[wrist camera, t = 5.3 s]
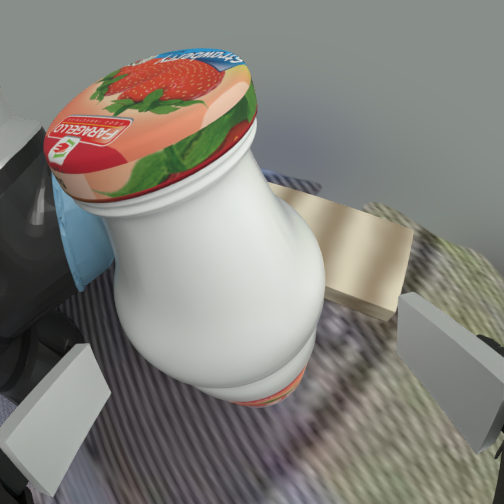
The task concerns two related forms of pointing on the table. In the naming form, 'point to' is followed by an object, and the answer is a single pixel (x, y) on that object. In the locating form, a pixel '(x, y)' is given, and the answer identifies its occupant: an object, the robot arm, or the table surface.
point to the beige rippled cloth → (355, 252)
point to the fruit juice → (194, 224)
